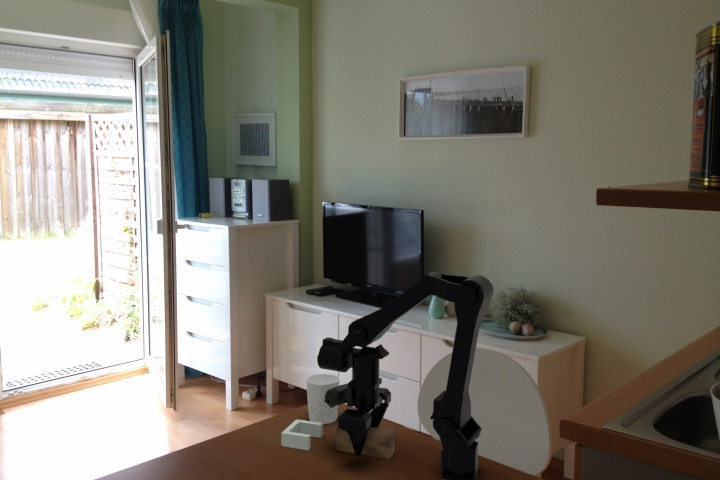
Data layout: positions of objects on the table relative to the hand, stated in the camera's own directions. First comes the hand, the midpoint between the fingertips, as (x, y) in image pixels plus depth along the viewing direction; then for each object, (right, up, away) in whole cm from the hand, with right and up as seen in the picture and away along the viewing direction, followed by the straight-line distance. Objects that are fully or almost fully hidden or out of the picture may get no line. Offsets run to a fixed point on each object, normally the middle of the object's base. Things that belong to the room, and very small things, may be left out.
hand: (365, 446), depth 138 cm
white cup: (-10, +1, +17) cm, 20 cm away
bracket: (-13, 0, +5) cm, 14 cm away
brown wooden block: (0, -1, 0) cm, 1 cm away
